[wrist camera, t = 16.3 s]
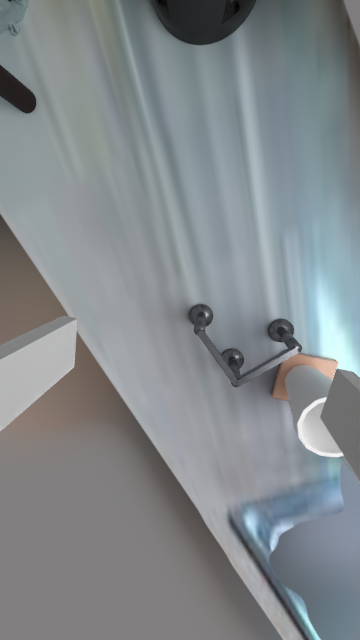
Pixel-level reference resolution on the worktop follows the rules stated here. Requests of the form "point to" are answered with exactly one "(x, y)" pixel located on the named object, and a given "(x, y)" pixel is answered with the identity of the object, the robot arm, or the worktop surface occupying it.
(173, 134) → the worktop surface
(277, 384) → the coaster
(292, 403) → the foam cup
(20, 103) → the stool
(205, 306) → the bent rail
